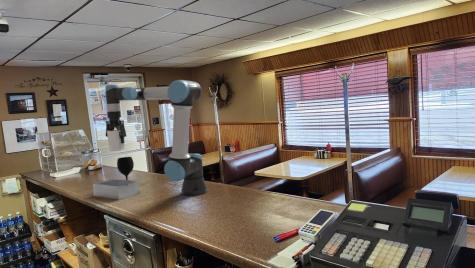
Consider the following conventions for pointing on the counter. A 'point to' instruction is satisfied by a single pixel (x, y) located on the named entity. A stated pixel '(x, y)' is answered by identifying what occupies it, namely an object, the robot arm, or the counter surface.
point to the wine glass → (125, 165)
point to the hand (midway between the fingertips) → (116, 148)
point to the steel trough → (116, 189)
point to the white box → (114, 140)
